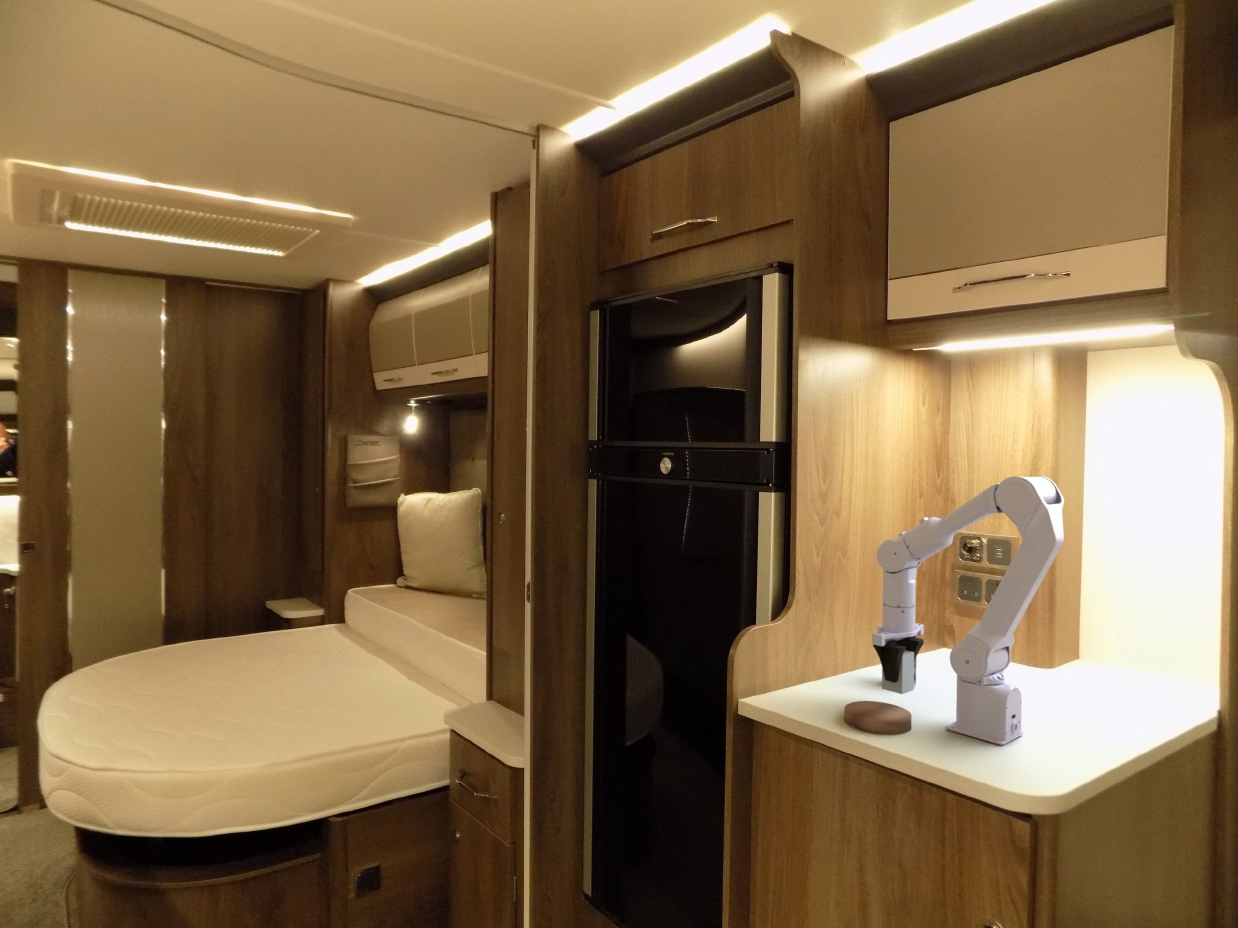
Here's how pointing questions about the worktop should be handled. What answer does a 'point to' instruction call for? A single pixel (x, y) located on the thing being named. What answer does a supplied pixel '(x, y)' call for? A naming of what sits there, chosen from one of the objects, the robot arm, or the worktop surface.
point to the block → (902, 675)
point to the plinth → (877, 717)
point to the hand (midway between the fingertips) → (897, 678)
